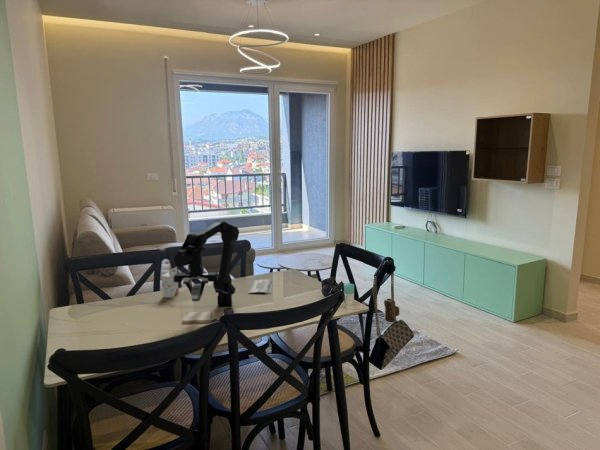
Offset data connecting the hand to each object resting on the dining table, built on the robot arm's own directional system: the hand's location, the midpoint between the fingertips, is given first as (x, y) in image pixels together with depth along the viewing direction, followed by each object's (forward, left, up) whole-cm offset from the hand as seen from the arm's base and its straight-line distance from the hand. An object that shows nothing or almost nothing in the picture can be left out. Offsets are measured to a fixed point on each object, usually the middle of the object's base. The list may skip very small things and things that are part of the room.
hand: (196, 295), depth 187 cm
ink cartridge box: (+19, -33, -11) cm, 40 cm away
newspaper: (-29, -43, -12) cm, 53 cm away
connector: (0, 0, -1) cm, 1 cm away
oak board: (0, 0, -11) cm, 11 cm away
